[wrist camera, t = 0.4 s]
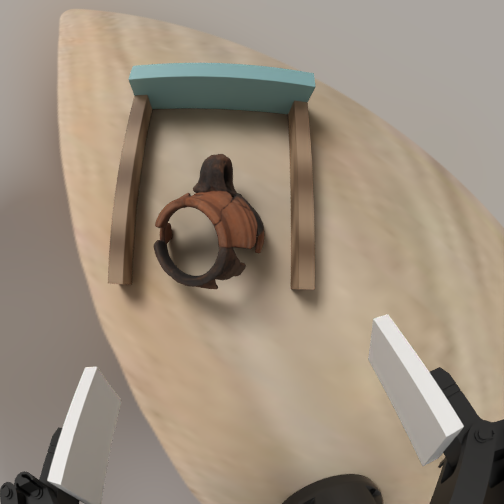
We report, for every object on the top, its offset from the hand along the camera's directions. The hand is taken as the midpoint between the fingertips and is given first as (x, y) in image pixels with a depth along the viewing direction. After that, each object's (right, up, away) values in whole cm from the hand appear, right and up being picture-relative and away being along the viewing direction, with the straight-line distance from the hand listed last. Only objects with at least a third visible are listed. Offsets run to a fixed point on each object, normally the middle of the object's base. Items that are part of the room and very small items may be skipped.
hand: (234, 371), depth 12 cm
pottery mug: (-3, +8, +17) cm, 19 cm away
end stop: (-3, +23, +18) cm, 29 cm away
